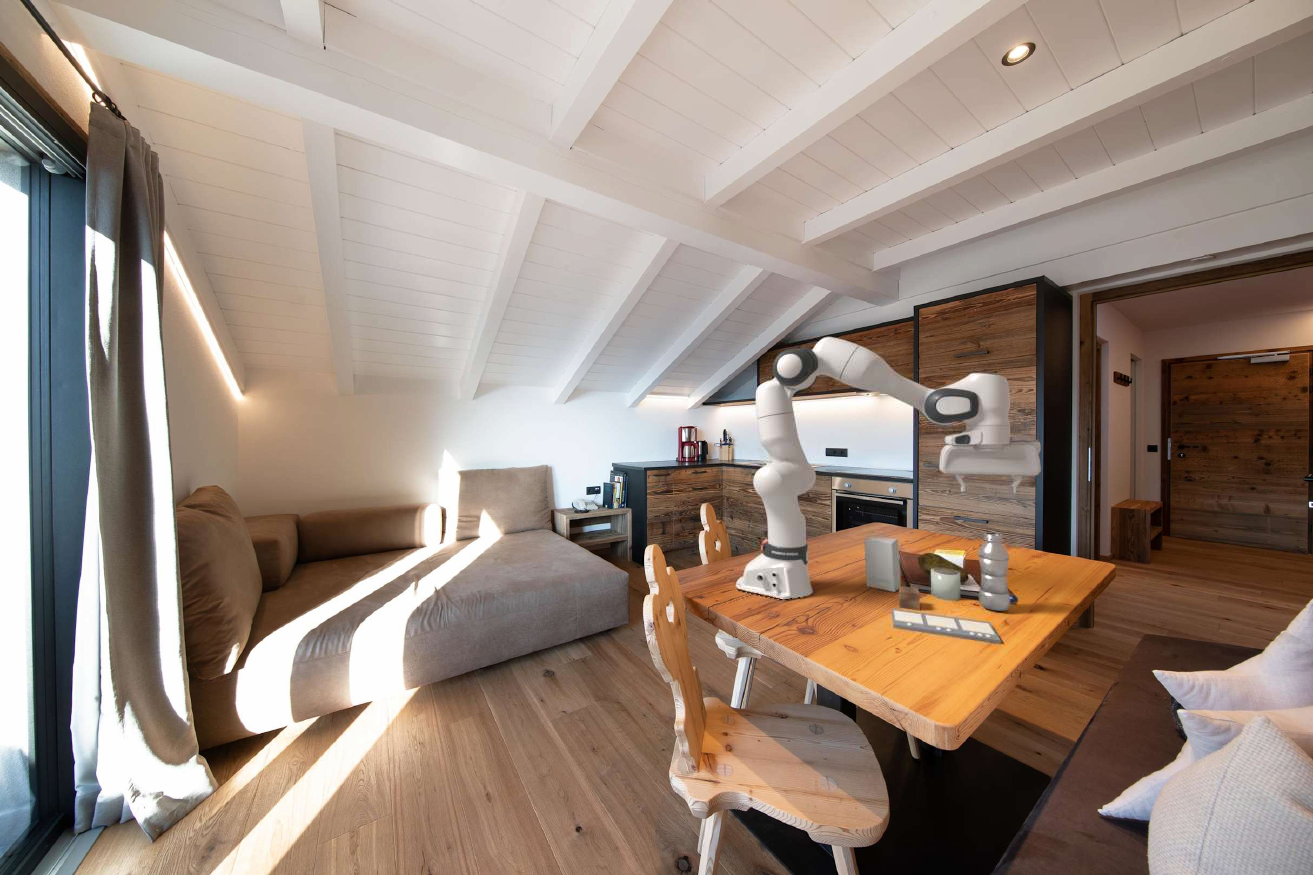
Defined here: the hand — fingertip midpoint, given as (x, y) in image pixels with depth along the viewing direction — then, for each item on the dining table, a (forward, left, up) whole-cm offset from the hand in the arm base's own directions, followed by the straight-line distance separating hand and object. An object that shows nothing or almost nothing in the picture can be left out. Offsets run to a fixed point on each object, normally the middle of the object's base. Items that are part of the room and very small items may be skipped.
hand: (987, 492), depth 109 cm
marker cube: (-17, +2, -32) cm, 36 cm away
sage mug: (-7, +14, -32) cm, 35 cm away
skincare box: (-23, +15, -32) cm, 42 cm away
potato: (-6, +28, -32) cm, 43 cm away
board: (-11, -9, -32) cm, 35 cm away
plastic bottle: (+3, +8, -32) cm, 33 cm away
